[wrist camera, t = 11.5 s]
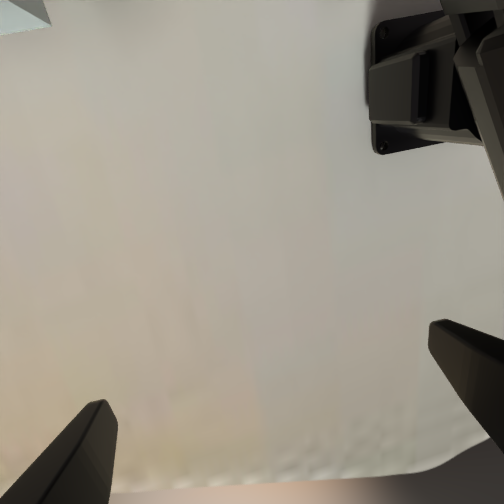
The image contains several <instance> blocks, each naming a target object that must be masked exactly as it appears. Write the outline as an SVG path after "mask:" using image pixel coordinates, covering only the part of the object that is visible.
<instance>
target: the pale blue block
mask: <svg viewBox="0 0 504 504" xmlns="http://www.w3.org/2000/svg"><path fill="white" fill-rule="evenodd" d="M51 26H52V25H51V22H50V19H49V17H48V14H47V11H46V8H45V6H44V3H43V0H0V35H5V34H11V33H17V32H22V31H28V30H34V29H40V28H45V27H51Z"/></svg>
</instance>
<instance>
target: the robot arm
mask: <svg viewBox="0 0 504 504" xmlns="http://www.w3.org/2000/svg"><path fill="white" fill-rule="evenodd" d="M440 2H441V5H442V8H443V10H442V11H436V12H431V13H425V14H420V15H414V16H408V17H403V18H397V19H392V20H386V21H383V22H381V23H379V24H377V25H376V26H375V27H374V28H373V30H372V33H371V68H370V70H369V72H368V80H369V120H370V121H371V122H372V142H373V150H374V152H375V153H377V154H380V155H385V154H390V153H395V152H400V151H405V150H410V149H415V148H420V147H424V146H429V145H434V144H439V143H444V142H451V143H460V144H470V145H479V146H484V148H485V150H486V153H487V156H488V159H489V161H490V164H491V167H492V170H493V173H494V175H495V178H496V181H497V184H498V186H499V189H500V192H501V195H502V198H503V200H504V0H440ZM381 29H383V30H384V31H385V37H384V38H383V39H382V38H381V37H380V34H379V33H380V30H381ZM383 141H384V143H385V146H384V148H383V149H380V144H381V143H382V142H383ZM428 348H429V351H430V353H431V355H432V356H433V358H434V359H435V361H436V362H437V364H438V365H439V367H440V368H441V370H442V371H443V373H444V374H445V376H446V377H447V379H448V381H449V382H450V384H451V385H452V387H453V388H454V390H455V391H456V393H457V394H458V396H459V397H460V399H461V400H462V402H463V403H464V404H465V406H466V407H467V408H468V410H469V411H470V412H471V413H472V415H473V416H474V417H475V418H476V420H477V421H478V422H479V423H480V425H481V426H482V427H483V429H484V430H485V431H486V432H487V434H488V435H489V436H490V437H491V439H492V440H493V441H494V442H495V443H496V445H497V446H498V447H499V449H500V450H501V451H502V452H503V454H504V340H502V339H500V338H497V337H494V336H491V335H489V334H486V333H483V332H481V331H478V330H475V329H473V328H470V327H467V326H465V325H462V324H459V323H457V322H454V321H451V320H448V319H441V320H437V321H433V322H431V323H430V325H429V337H428ZM117 432H118V422H117V419H116V417H115V415H114V413H113V411H112V409H111V407H110V405H109V403H108V402H107V401H106V400H105V399H101V400H97V401H93V402H90V403H88V404H87V405H86V406H85V407H84V408H83V409H82V410H81V411H80V412H79V413H78V414H77V416H76V417H75V418H74V419H73V420H72V421H71V422H70V423H69V424H68V425H67V426H66V427H65V429H64V430H63V431H62V432H61V433H60V434H59V435H58V436H57V437H56V438H55V439H54V440H53V442H52V443H51V444H50V445H49V446H48V447H47V448H46V449H45V450H44V451H43V452H42V453H41V455H40V456H39V457H38V458H37V459H36V460H35V461H34V462H33V463H32V464H31V465H30V466H29V468H28V469H27V470H26V471H25V472H24V473H23V474H22V475H21V476H20V477H19V478H18V479H17V481H16V482H15V483H14V484H13V485H12V486H11V487H10V488H9V489H8V490H7V491H6V492H5V493H4V495H3V496H2V497H1V498H0V504H108V503H109V497H110V492H111V485H112V477H113V468H114V459H115V450H116V441H117Z"/></svg>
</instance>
